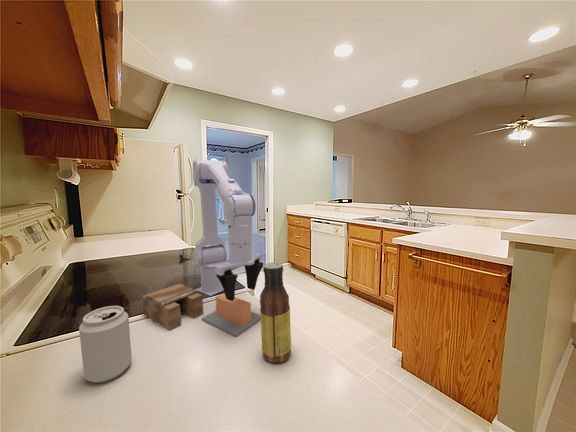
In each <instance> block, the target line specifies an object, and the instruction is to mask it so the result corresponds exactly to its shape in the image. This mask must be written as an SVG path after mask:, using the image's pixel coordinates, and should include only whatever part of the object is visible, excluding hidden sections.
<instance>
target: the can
mask: <svg viewBox="0 0 576 432" xmlns="http://www.w3.org/2000/svg"><path fill="white" fill-rule="evenodd" d="M129 319H130V318H129V314H128V313H127V312H126V311H125V309H124V307H122V306H120V305H108V306H104V307H100V308H97V309H94V310H92V311H89V312H88V313H87V314H85V315H84V316H83V318H82V323H81V324H80V325H79V327H78V330H79V339H80V348H81V351H80V352H81V359H82V368H83V369H82V370H83V375H84V376H83V377H84V379H85V380H86V381H87V382H92V383H99V384H100V383H105V382H109V381H111V380H113V379H115V378H117V377H119V376H120V375H121V374H123V373H124V372H125V371H126V370H127V369H128V367H129V366H130V365H131V364H132V359H133V358H132V346H131V345H132V344H131V333H130V321H129Z"/></svg>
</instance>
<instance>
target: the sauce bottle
mask: <svg viewBox="0 0 576 432" xmlns="http://www.w3.org/2000/svg"><path fill="white" fill-rule="evenodd" d="M262 270H263V273H264V287H263V289H262V291H261V293H260V296H259V303H260V309H259V311H260V312H259V313H260V314H259V315H260V317H261V320H260V328H261V329H260V331H261V334H260V336H261V350H262V353H263V354H262V355H263V357H264V359H265V360H266V361H267V362H270V363H274V364H280V363H282V362H286V360H287V361H288V359H289V358H290V356H291V353H292V333H291V331H292V330H291V328H292V327H291V306H290V300H289V299H290V298H289V294H288V292H287V290H286V288H285V287H284V286H285V285H284V281H283V280H284V279H283V272H284V265H283V263H280V262H275V261H273V262H267V263H265V264H263V267H262Z"/></svg>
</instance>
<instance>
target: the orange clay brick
mask: <svg viewBox="0 0 576 432" xmlns="http://www.w3.org/2000/svg"><path fill="white" fill-rule="evenodd" d="M251 304H252V303H251V302H249V301H246V300H244V299H241V298H237V297H236V296H235V297H234V300H233V301H230V300H228V299H226V296H225V292H223V293H222V294H220V295H218V296H215V305H216V306H215V308H216V310H215V311H216V314H217V315H218V316H221V317H223V318H225V319H227V320H230V321H232V322H234V323H237V324H239V325H241V326H244V325H246V324H247V323H249V322H250V321H251V312H252V307H251V306H252V305H251Z"/></svg>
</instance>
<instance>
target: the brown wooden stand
mask: <svg viewBox="0 0 576 432" xmlns="http://www.w3.org/2000/svg"><path fill="white" fill-rule="evenodd" d="M196 289H197V288H195V289H194V288H192V287H189V286H186V285H185V284H182V283H178V284H174V285H170V286H169V287H165V288H163V289H159V290H157V291H153V292H150V293H148V294H145V295H142V307H143V316H144V315H146V316H147V317H146V316H145V317H146V318H148V319H150V320H151V321H153V322H154V323H156V324H158V325H160V326H161V327H163V328H165V329H166V330H169V331H172V330H174V329H176V328H178V327H180V326H182V317H181V313H182V314H184V315H186V316H188V317H190V318H193V319H195V318H198V317H200V316H202V315H204V304H203V303H204V301H203V299H204V298H203V294H201V293H198V291H197V290H196Z"/></svg>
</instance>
